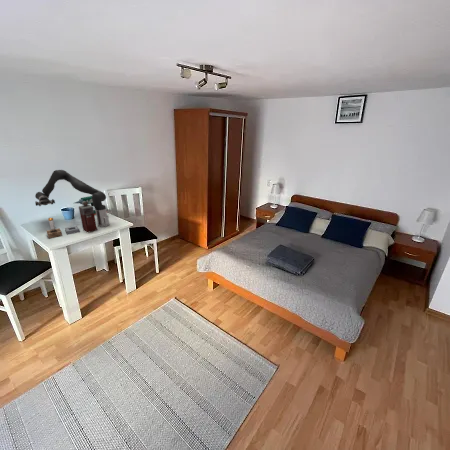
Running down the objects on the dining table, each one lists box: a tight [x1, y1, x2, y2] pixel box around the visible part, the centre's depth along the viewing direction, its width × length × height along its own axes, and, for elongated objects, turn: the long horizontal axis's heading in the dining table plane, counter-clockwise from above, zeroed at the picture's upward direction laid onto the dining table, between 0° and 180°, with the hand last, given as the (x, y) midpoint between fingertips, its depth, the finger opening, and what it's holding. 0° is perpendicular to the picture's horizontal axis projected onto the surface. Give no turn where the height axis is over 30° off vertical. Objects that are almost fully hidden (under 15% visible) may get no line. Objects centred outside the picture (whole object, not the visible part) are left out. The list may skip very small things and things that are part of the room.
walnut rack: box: [46, 227, 63, 239], centre depth 215 cm, size 10×10×4 cm
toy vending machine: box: [78, 201, 98, 233], centre depth 223 cm, size 9×11×28 cm
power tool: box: [74, 195, 108, 216], centre depth 264 cm, size 32×7×20 cm, turn 143°
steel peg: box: [48, 217, 57, 232], centre depth 213 cm, size 3×3×16 cm
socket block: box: [64, 225, 80, 235], centre depth 224 cm, size 10×10×3 cm
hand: (46, 204), depth 214 cm, fingers open, 8 cm apart
